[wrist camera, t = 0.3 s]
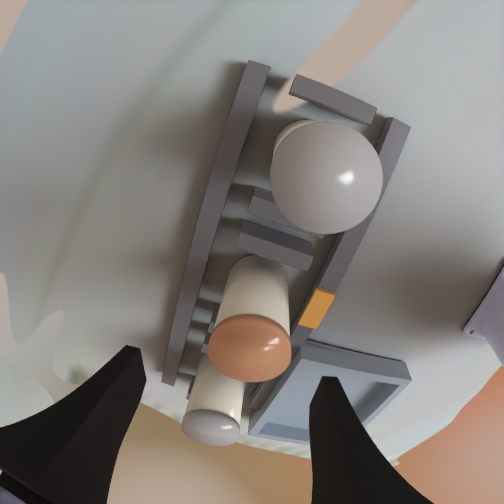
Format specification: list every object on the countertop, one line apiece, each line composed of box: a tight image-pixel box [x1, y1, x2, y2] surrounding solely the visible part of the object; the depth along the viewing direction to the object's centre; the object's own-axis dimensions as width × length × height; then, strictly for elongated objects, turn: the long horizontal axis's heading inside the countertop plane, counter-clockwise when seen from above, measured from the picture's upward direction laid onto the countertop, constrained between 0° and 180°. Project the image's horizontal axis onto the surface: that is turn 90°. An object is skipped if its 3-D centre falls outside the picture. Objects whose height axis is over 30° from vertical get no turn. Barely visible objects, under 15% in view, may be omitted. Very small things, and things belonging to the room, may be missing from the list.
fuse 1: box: [181, 353, 245, 446], centre depth 21 cm, size 4×4×7 cm
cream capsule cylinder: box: [270, 120, 383, 234], centre depth 13 cm, size 4×4×7 cm
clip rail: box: [161, 60, 411, 410], centre depth 19 cm, size 10×26×2 cm, turn 162°
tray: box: [248, 340, 412, 445], centre depth 24 cm, size 11×13×2 cm
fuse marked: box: [207, 255, 291, 382], centre depth 17 cm, size 4×4×7 cm
